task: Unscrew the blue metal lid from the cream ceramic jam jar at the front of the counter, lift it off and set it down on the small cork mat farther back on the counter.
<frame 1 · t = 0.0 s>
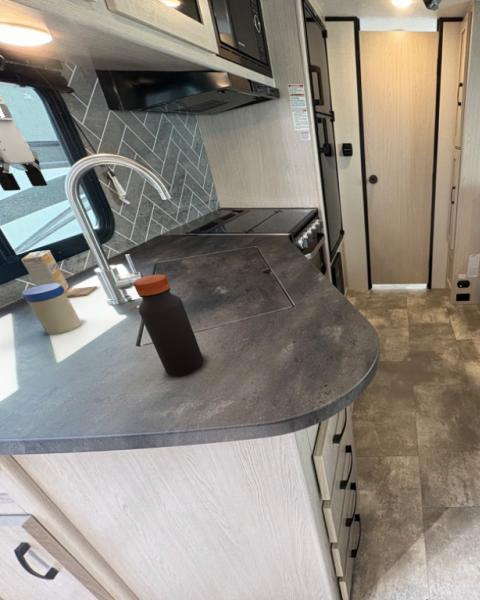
hand: (27, 188, 83), 32 cm above the countertop, tool pointing down, fingers open, 9 cm apart
supplement box: (58, 293, 101), on the countertop
bottle: (186, 367, 66), on the countertop
jam jar: (64, 327, 81), on the countertop
jam lid: (42, 290, 77), point 11 cm above the countertop, screwed on, not yet turned
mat: (80, 292, 101), on the countertop
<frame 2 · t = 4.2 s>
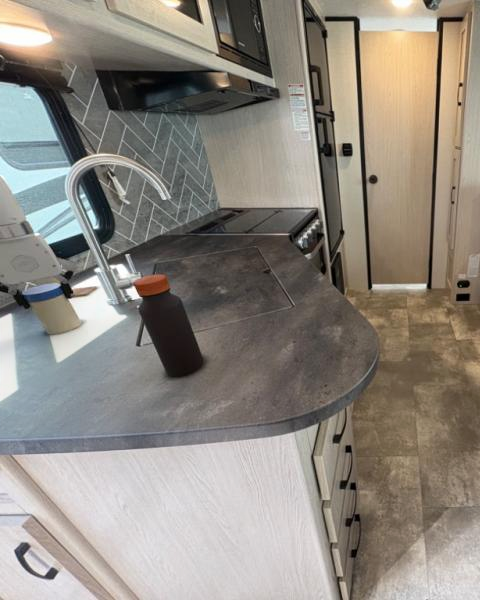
hand: (49, 301, 78), 8 cm above the countertop, tool pointing down, fingers closed on jam lid, 6 cm apart
jam lid: (42, 290, 77), point 11 cm above the countertop, screwed on, not yet turned, touching gripper
everything else where it was.
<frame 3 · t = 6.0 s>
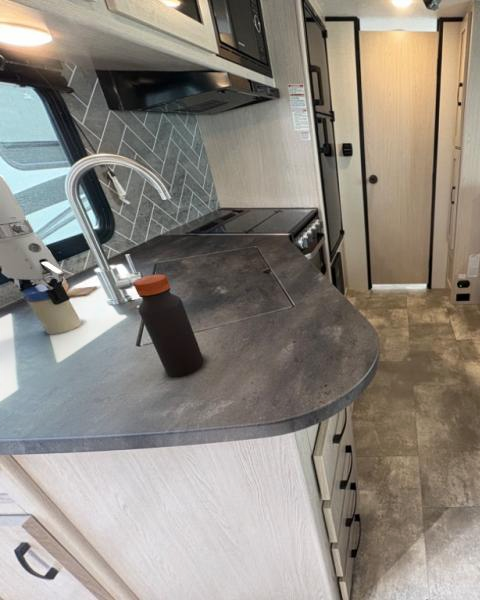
hand: (49, 301, 78), 8 cm above the countertop, tool pointing down, fingers closed on jam lid, 6 cm apart
jam jar: (64, 327, 81), on the countertop, touching gripper
jam lid: (42, 289, 76), point 11 cm above the countertop, turned 126° so far, risen 0.2 cm, still on its thread, touching gripper
everything else where it was.
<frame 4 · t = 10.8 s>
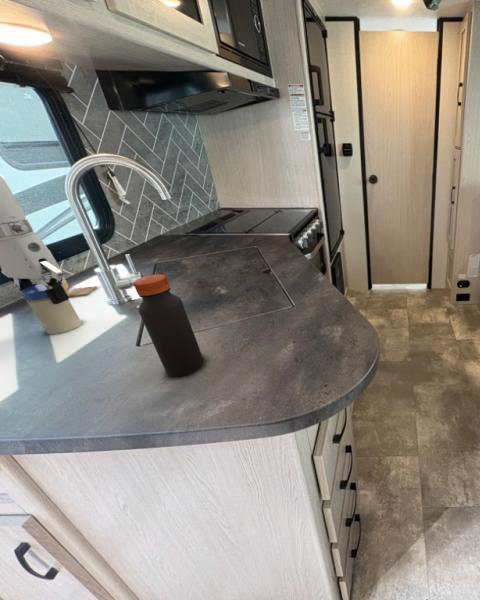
hand: (48, 300, 78), 8 cm above the countertop, tool pointing down, fingers closed on jam lid, 6 cm apart
jam lid: (41, 288, 76), point 11 cm above the countertop, turned 253° so far, risen 0.3 cm, still on its thread, touching gripper
everything else where it was.
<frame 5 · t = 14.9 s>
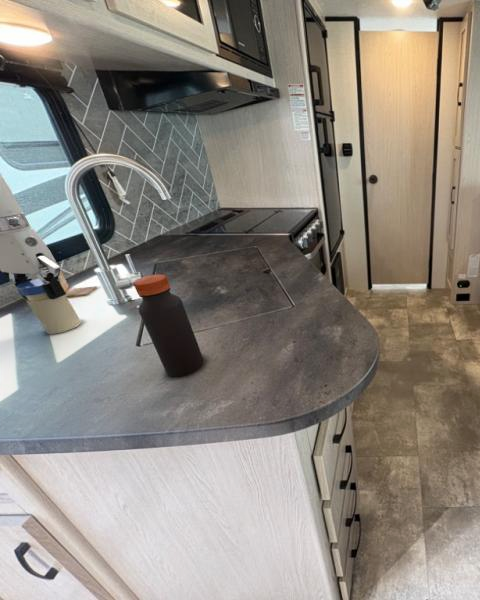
hand: (44, 295, 77), 9 cm above the countertop, tool pointing down, fingers closed on jam lid, 6 cm apart
jam jar: (64, 327, 81), on the countertop
jam lid: (37, 284, 76), point 12 cm above the countertop, off its thread, touching gripper
everything else where it was.
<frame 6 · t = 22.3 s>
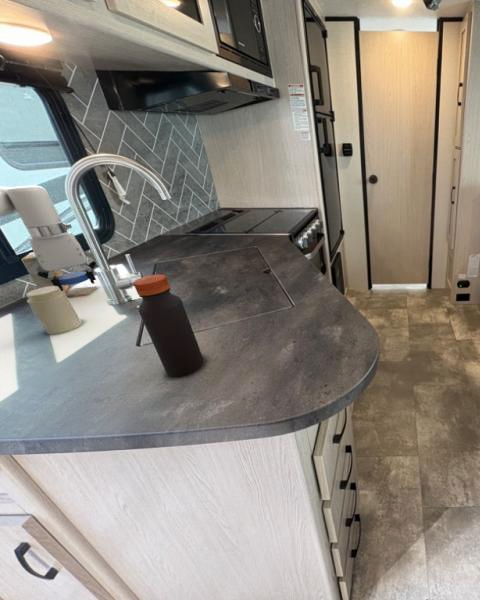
hand: (77, 285, 100), 2 cm above the countertop, tool pointing down, fingers closed on jam lid, 6 cm apart
supplement box: (58, 293, 101), on the countertop, touching gripper
jam lid: (72, 276, 98), point 6 cm above the countertop, off its thread, touching gripper
everything else where it was.
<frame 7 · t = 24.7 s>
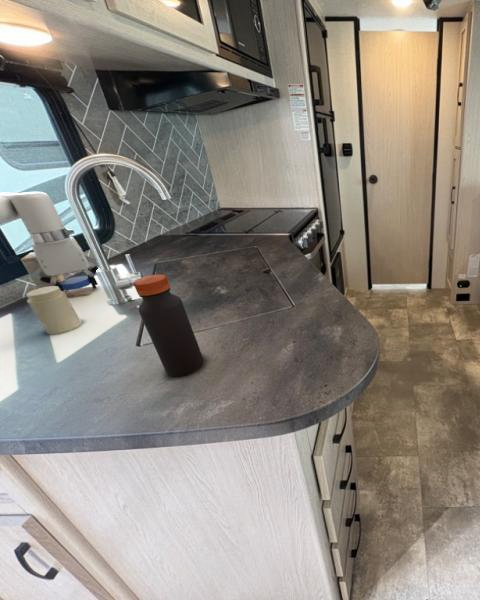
hand: (79, 290, 100), 1 cm above the countertop, tool pointing down, fingers closed on jam lid, 6 cm apart
supplement box: (57, 293, 101), on the countertop
jam lid: (74, 281, 99), point 4 cm above the countertop, off its thread, touching gripper
everything else where it was.
when the fingers open (2 cm above the countertop, at t = 29.1 s): jam lid drops 3 cm, resting on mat.
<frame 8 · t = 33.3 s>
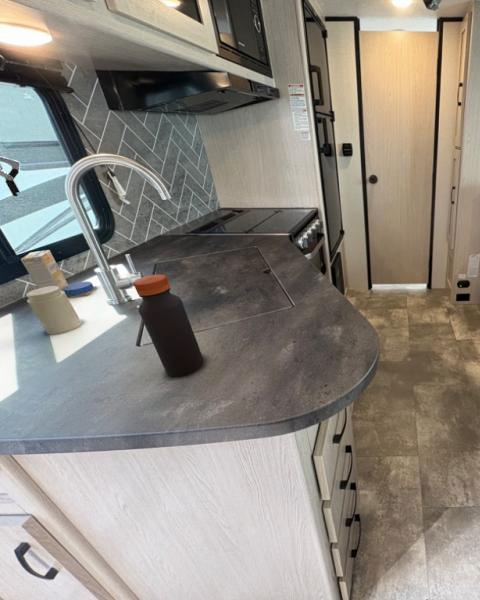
jam lid: (77, 286, 100), point 2 cm above the countertop, off its thread, touching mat
everything else where it was.
at the end: jam lid came off its thread; jam lid inside the target area on the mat (0.0 cm from its centre), point 2.1 cm above the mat's base; the gripper is holding nothing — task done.
